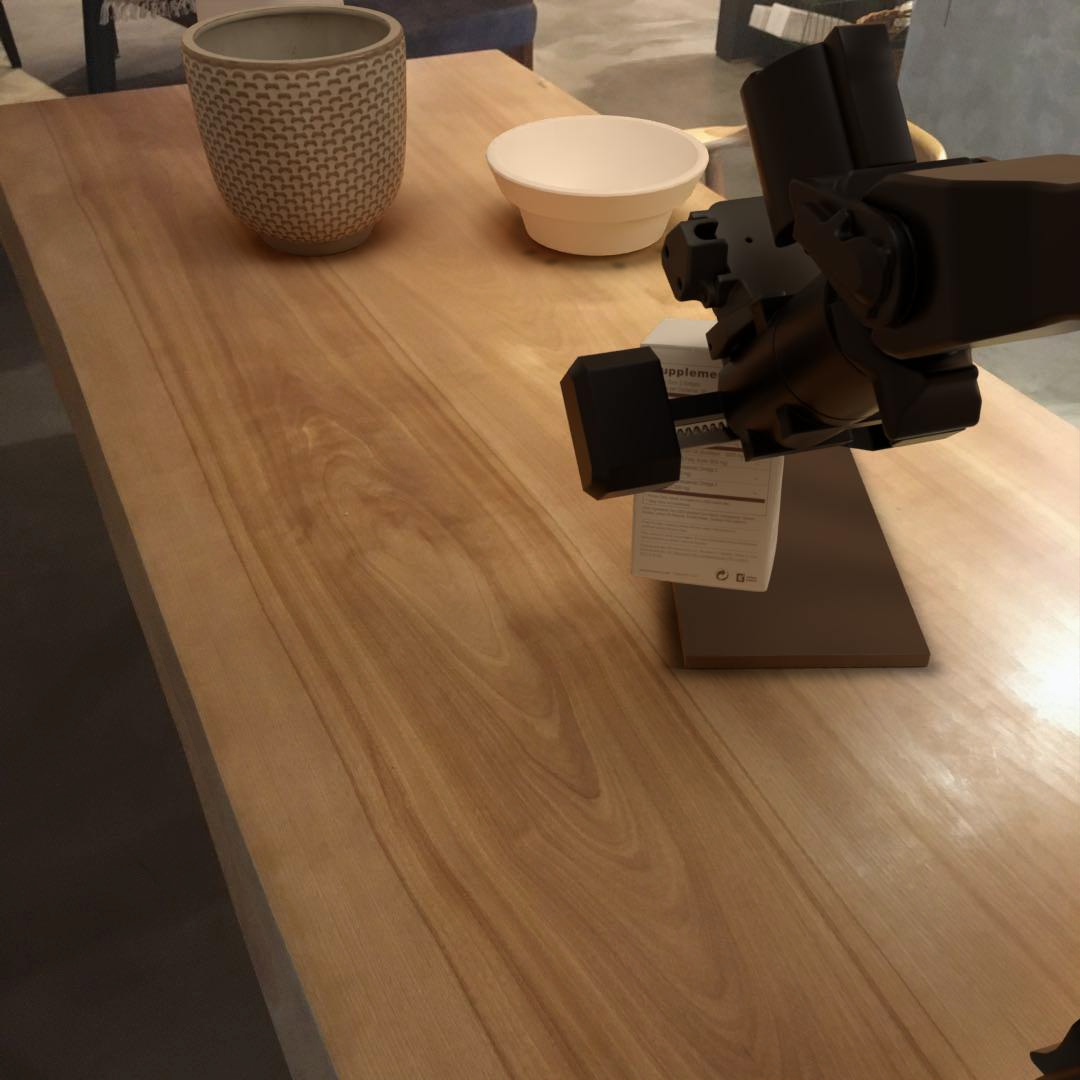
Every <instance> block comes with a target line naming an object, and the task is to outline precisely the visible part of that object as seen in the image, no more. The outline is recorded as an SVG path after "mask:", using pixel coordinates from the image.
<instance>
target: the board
mask: <svg viewBox="0 0 1080 1080" xmlns="http://www.w3.org/2000/svg"><path fill="white" fill-rule="evenodd" d="M671 587H672V594H673V600H674V604H675V605H674V606H675V607H674V608H675V613H676V619H677V626H678V633H679V639H680V646H681V653H682V658H683V666H684V669H769V668H771V669H772V668H773V669H777V668H781V669H782V668H783V669H784V668H786V669H787V668H877V667H878V668H882V667H883V668H885V667H886V668H888V667H889V668H890V667H894V668H895V667H897V668H898V667H928V665H929V662H930V658H931V651H930V649H929V646H928V643H927V641H926V638H925V635H924V633H923V631H922V628H921V625H920V622H919V621H918V617H917V615H916V612H915V610H914V607H913V605H912V602H911V600H910V598H909V594H908V592H907V590H906V588H905V585H904V582H903V580H902V577H901V575H900V572H899V569H898V567H897V564H896V562H895V560H894V556H893V554H892V551H891V549H890V546H889V544H888V542H887V539H886V536H885V534H884V531H883V529H882V527H881V523H880V521H879V519H878V516H877V514H876V511H875V508H874V506H873V503H872V500H871V499H870V496H869V493H868V491H867V488H866V486H865V483H864V481H863V477H862V476H861V473H860V470H859V468H858V465H857V462H856V461H855V457H854V455H853V452H852V450H851V448H848V447H842V446H835V447H830V448H824V449H818V450H813V451H807V452H801V453H796V454H790V455H784V464H783V475H782V486H781V498H780V511H779V523H778V534H777V544H776V551H775V557H774V561H773V566H772V571H771V576H770V580H769V583H768V587H767V590H766V591H764V592H757V591H746V590H737V589H728V588H719V587H710V586H702V585H694V584H685V583H677V582H671Z"/></svg>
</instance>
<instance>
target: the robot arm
mask: <svg viewBox="0 0 1080 1080" xmlns="http://www.w3.org/2000/svg"><path fill="white" fill-rule="evenodd" d="M898 85H899V84H898V81H897V76H896V68H895V59H894V52H893V47H892V44H891V40H890V36H889V32H888V28H887V25H886V23H884V22H883V21H877V22H867V23H865V22H863V23H852V24H842V25H834V26H833V28H831V30H830V31H829V33H828V34H827V36H825V38H824V39H823V41H820V42H816V43H813V44H810V45H807V46H805V47H802V48H799V49H797V50H794V51H793V52H790V53H788V54H786V55H784V56H782V57H780V58H777V59H776V60H775V61H773V62H771V63H770V64H768V65H767V66H765V67H763V69H759V70H755V71H753V72H751V73H750V74H749V75H748V76H747V77H746V79H745V80H743V83H742V85H741V87H740V89H739V100H740V105H741V110H742V114H743V119H744V121H745V126H746V130H747V134H748V138H749V142H750V146H751V151H752V155H753V160H754V163H755V168H756V171H757V176H758V180H759V184H760V188H761V193H762V195H758V196H750V197H742V198H741V197H740V198H734V199H726V200H720V201H716V202H714V203H712V205H710V206H709V207H708V209H702V210H695V211H690V212H689V215H688V218H687V220H681V221H679V222H678V223H677V224H676V225H675V226H673V227H672V228H671V229H670V230H669V231H668V233H667V234H666V236H665V238H664V242H663V245H662V248H661V252H660V259H661V266H662V269H663V272H664V274H665V277H666V279H667V282H668V284H669V287H670V289H671V293H672V294H673V297H674V299H675V300H676V301H678V302H680V303H684V302H692V301H695V302H699V303H701V305H702V306H703V308H704V309H706V310H708V309H711V310H712V313H713V315H714V316H715V318H716V321H717V323H716V324H715V325H714V326H713V327H712V328H711V329H710V330H709V331H708V332H707V333H706V334H705V335H706V339H707V344H708V348H709V352H710V357H711V359H712V360H719V359H722V364H723V368H722V369H721V371H720V374H719V379H718V391H716V392H710V393H703V394H697V395H691V396H685V397H678V398H672V399H669V398H668V393H667V389H666V384H665V380H664V375H663V371H662V367H661V362H660V359H659V358H658V356H657V355H656V354H655V352H654V351H653V350H652V349H651V347H650V346H645V347H640V346H639V347H632V348H626V349H619V350H612V351H606V352H599V353H593V354H586V355H580V356H577V357H576V358H575V359H574V361H573V362H572V364H571V365H570V366H569V368H568V369H567V371H566V372H565V374H564V375H563V376H562V378H561V380H560V381H559V386H560V390H561V395H562V399H563V404H564V409H565V414H566V419H567V423H568V428H569V432H570V437H571V443H572V446H573V450H574V455H575V460H576V465H577V469H578V474H579V478H580V483H581V488H582V491H583V492H584V493H585V494H587V495H589V496H590V497H591V498H593V499H594V500H595V501H603V500H604V501H605V500H610V499H615V498H616V499H617V498H622V497H628V496H631V495H632V496H633V494H638V493H644V492H650V491H654V490H659V489H665V488H667V486H671V485H673V484H675V483H676V482H678V481H679V480H680V470H681V457H682V455H681V452H685V451H691V450H697V449H703V448H709V447H714V446H720V445H726V444H732V443H738V442H741V445H742V450H743V454H744V458H745V462H750V461H756V460H761V459H767V458H773V457H779V456H784V455H790V454H796V453H801V452H807V451H813V450H818V449H824V448H830V447H835V446H842V447H848V448H850V449H854V450H861V451H867V452H877V451H882V450H883V451H884V450H888V449H894V448H901V447H906V446H907V447H908V446H913V445H917V444H923V443H929V442H935V441H941V440H945V439H948V438H950V437H953V436H955V435H957V434H959V433H961V432H963V431H966V429H967V428H973V427H975V426H977V425H978V423H979V422H980V419H981V413H982V412H981V411H982V406H983V399H982V398H983V397H982V394H981V390H980V385H979V382H978V379H979V375H980V371H979V368H978V366H977V365H976V364H974V362H973V357H972V355H973V354H972V353H973V352H972V350H973V349H978V348H985V347H990V346H998V345H1003V344H1010V343H1016V342H1023V341H1028V340H1035V339H1040V338H1047V337H1048V338H1049V337H1053V336H1060V335H1066V334H1071V333H1074V332H1079V331H1080V154H1068V153H1053V154H1044V155H1036V156H1027V157H1020V158H1013V159H1012V158H1009V159H1002V160H1000V159H998V158H994V157H991V156H989V155H988V156H987V155H985V156H977V157H967V156H962V157H953V158H945V159H938V160H937V159H935V160H928V161H919V162H918V159H917V155H916V152H915V148H914V143H913V140H912V136H911V132H910V128H909V124H908V120H907V117H906V113H905V109H904V105H903V100H902V97H901V96H902V95H901V93H900V89H899V86H898ZM721 419H725V420H726V426H725V425H724V423H723V422H719V423H718V427H716V425H715V423H712V424H710V427H709V428H708V427H707V425H706V424H705V425H703V426H702V428H701V430H700V428H699V427H698V426H695V427H694V428H693V432H692V430H691V428H690V427H687V428H686V429H685V433H684V432H683V430H682V429H678V430H677V433H676V429H675V427H679V426H685V425H691V424H697V423H703V422H709V421H715V420H721ZM1029 1058H1030V1060H1031V1062H1032V1064H1033V1065H1034V1066H1035V1067H1036V1068H1037V1069H1038V1070H1039V1071H1040V1072H1041V1073H1042V1075H1040V1076H1039V1077H1037V1078H1034V1080H1080V1018H1078V1019H1077V1020H1076V1021H1075V1022H1073V1024H1072V1025H1071V1026H1070V1028H1069V1029H1068V1031H1067V1032H1066V1034H1065V1036H1064V1038H1063V1039H1062V1040H1061V1041H1060V1042H1057V1043H1055V1044H1050V1045H1047V1046H1044V1047H1042V1048H1038V1049H1035V1050H1032V1051H1030V1052H1029Z"/></svg>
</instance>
